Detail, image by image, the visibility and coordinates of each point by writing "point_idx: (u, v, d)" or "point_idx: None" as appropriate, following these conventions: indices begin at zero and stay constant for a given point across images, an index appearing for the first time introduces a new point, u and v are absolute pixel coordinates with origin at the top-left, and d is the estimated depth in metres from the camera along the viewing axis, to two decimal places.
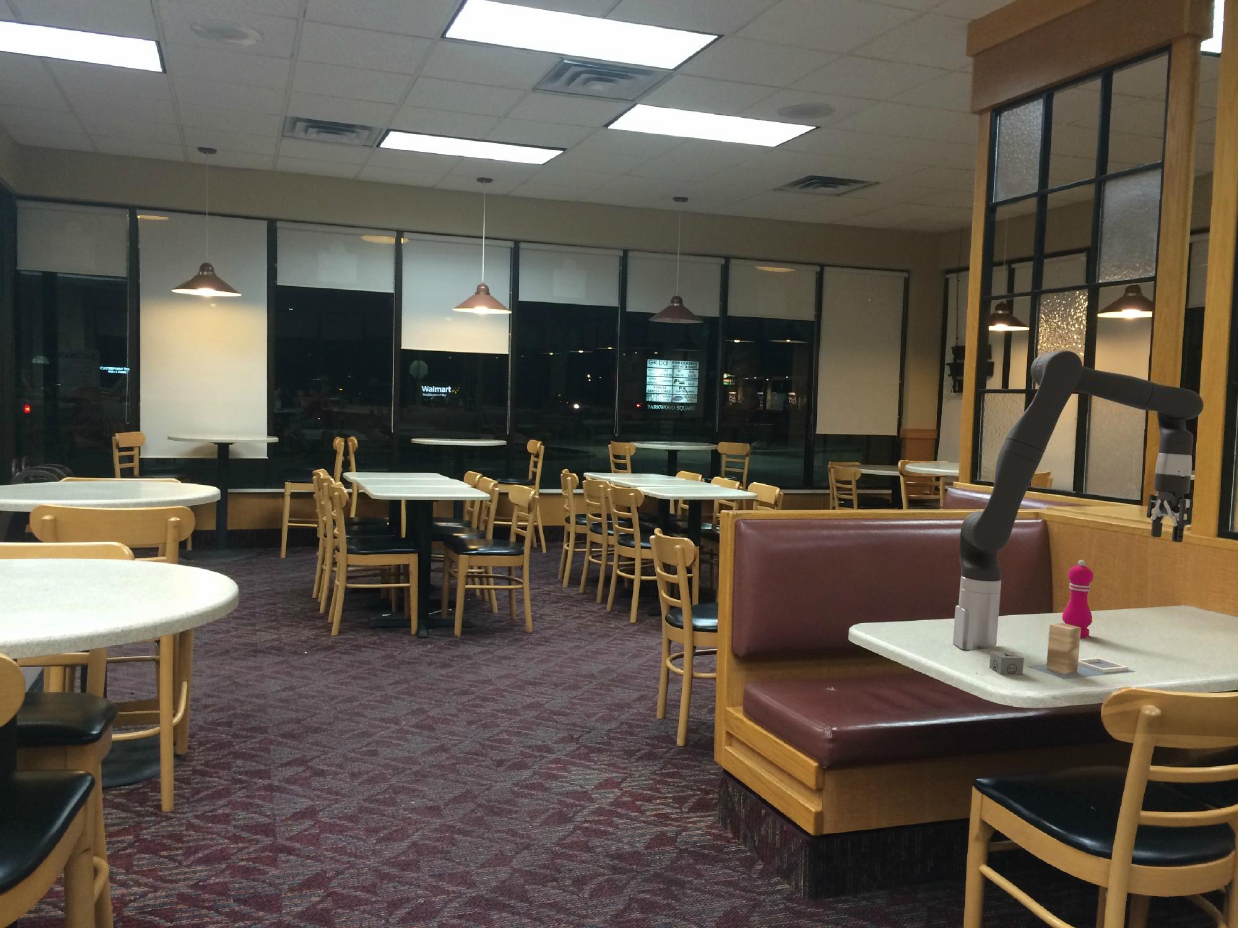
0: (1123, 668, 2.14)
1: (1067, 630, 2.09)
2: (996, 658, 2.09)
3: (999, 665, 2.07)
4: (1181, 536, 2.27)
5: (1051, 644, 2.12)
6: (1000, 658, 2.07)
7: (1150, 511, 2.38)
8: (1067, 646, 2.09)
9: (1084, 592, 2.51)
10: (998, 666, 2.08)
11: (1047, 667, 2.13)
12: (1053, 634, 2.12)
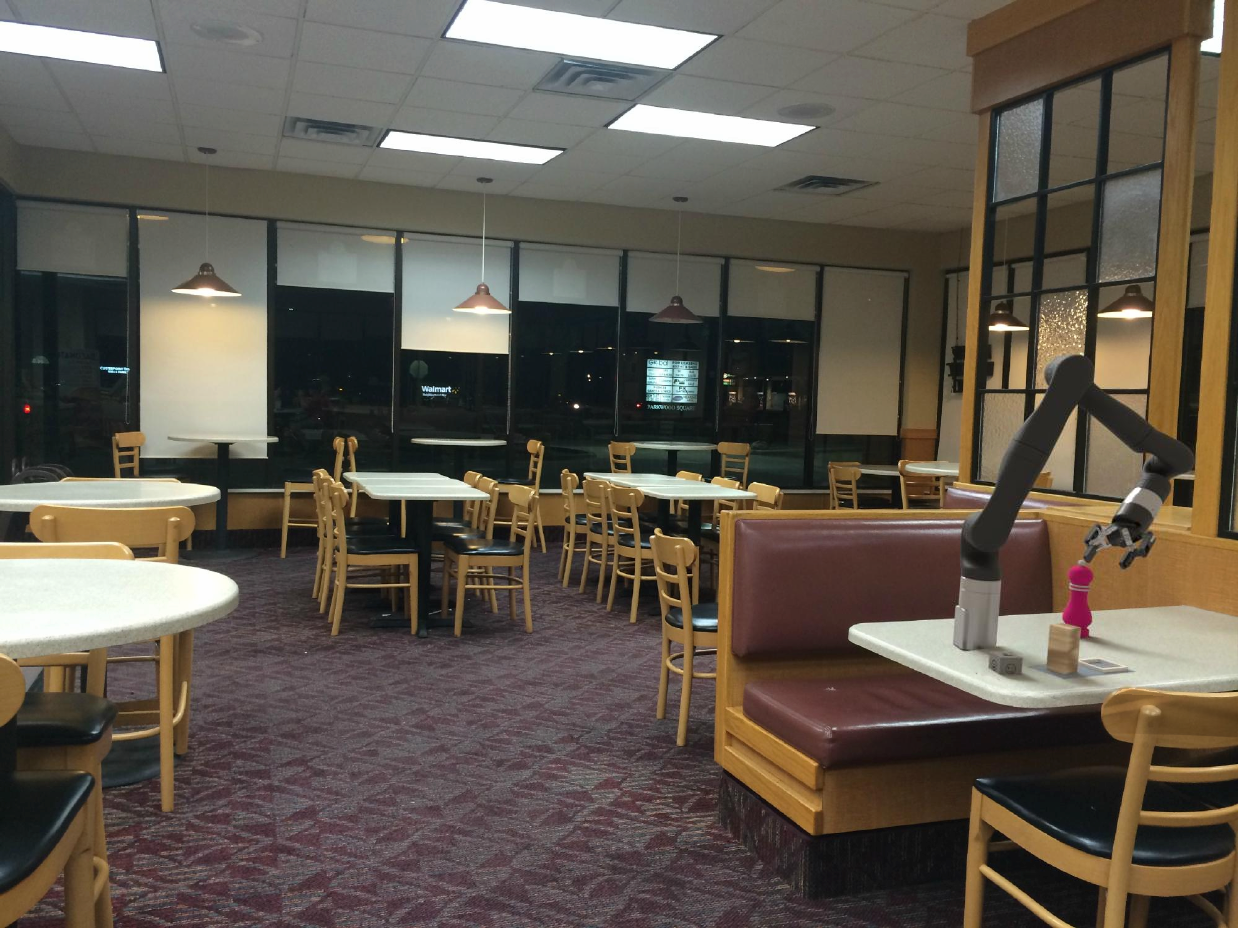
0: (1123, 668, 2.14)
1: (1067, 630, 2.09)
2: (995, 658, 2.09)
3: (998, 665, 2.07)
4: (1129, 564, 2.13)
5: (1051, 644, 2.12)
6: (999, 658, 2.07)
7: (1091, 536, 2.23)
8: (1067, 646, 2.09)
9: (1084, 592, 2.51)
10: (997, 666, 2.08)
11: (1047, 667, 2.13)
12: (1053, 634, 2.12)
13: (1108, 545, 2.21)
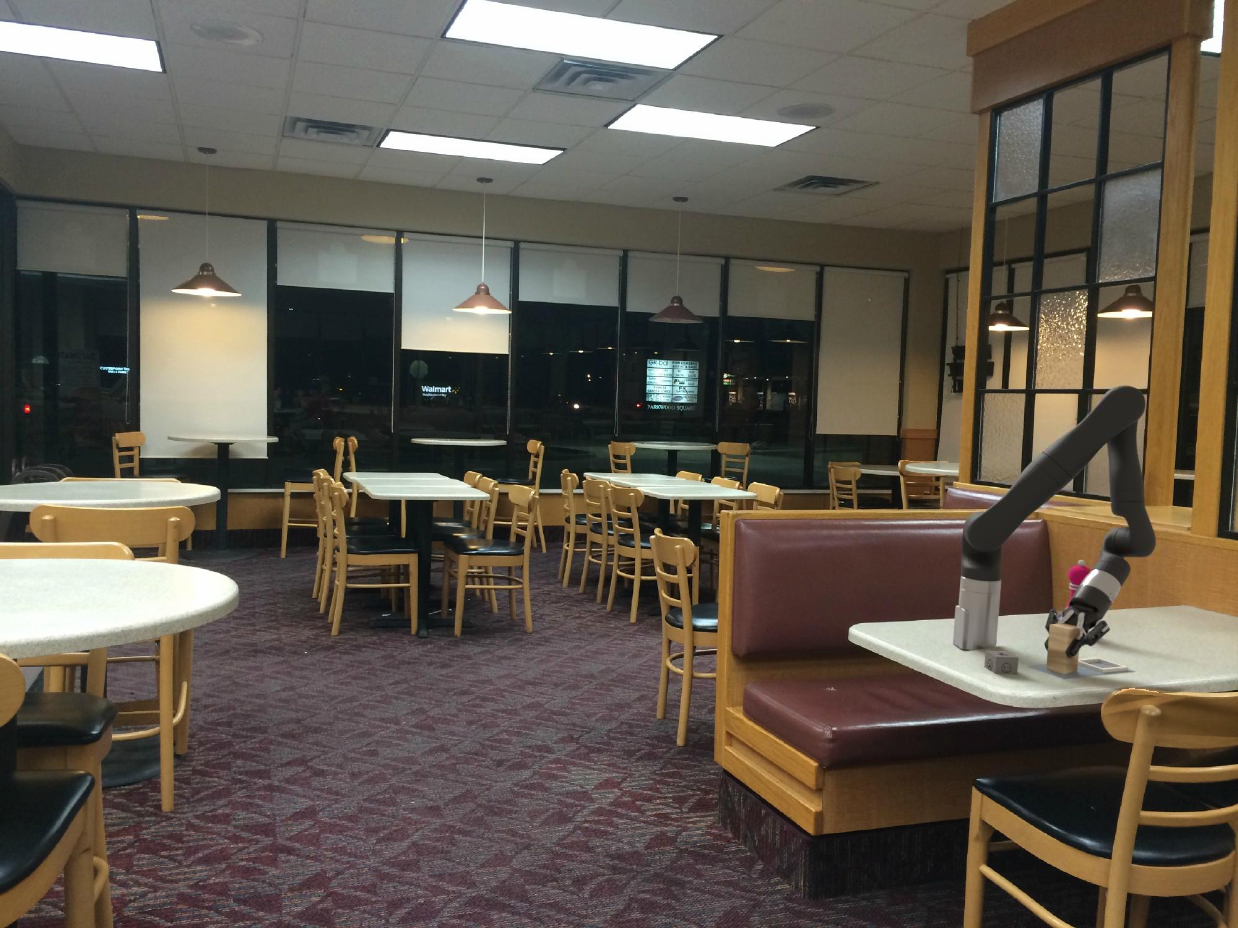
0: (1123, 668, 2.14)
1: (1067, 630, 2.09)
2: (991, 658, 2.09)
3: (994, 664, 2.08)
4: (1076, 652, 2.09)
5: (1051, 644, 2.12)
6: (995, 657, 2.07)
7: (1051, 623, 2.16)
8: (1067, 646, 2.09)
9: None
10: (993, 665, 2.08)
11: (1047, 667, 2.13)
12: (1053, 634, 2.12)
13: None
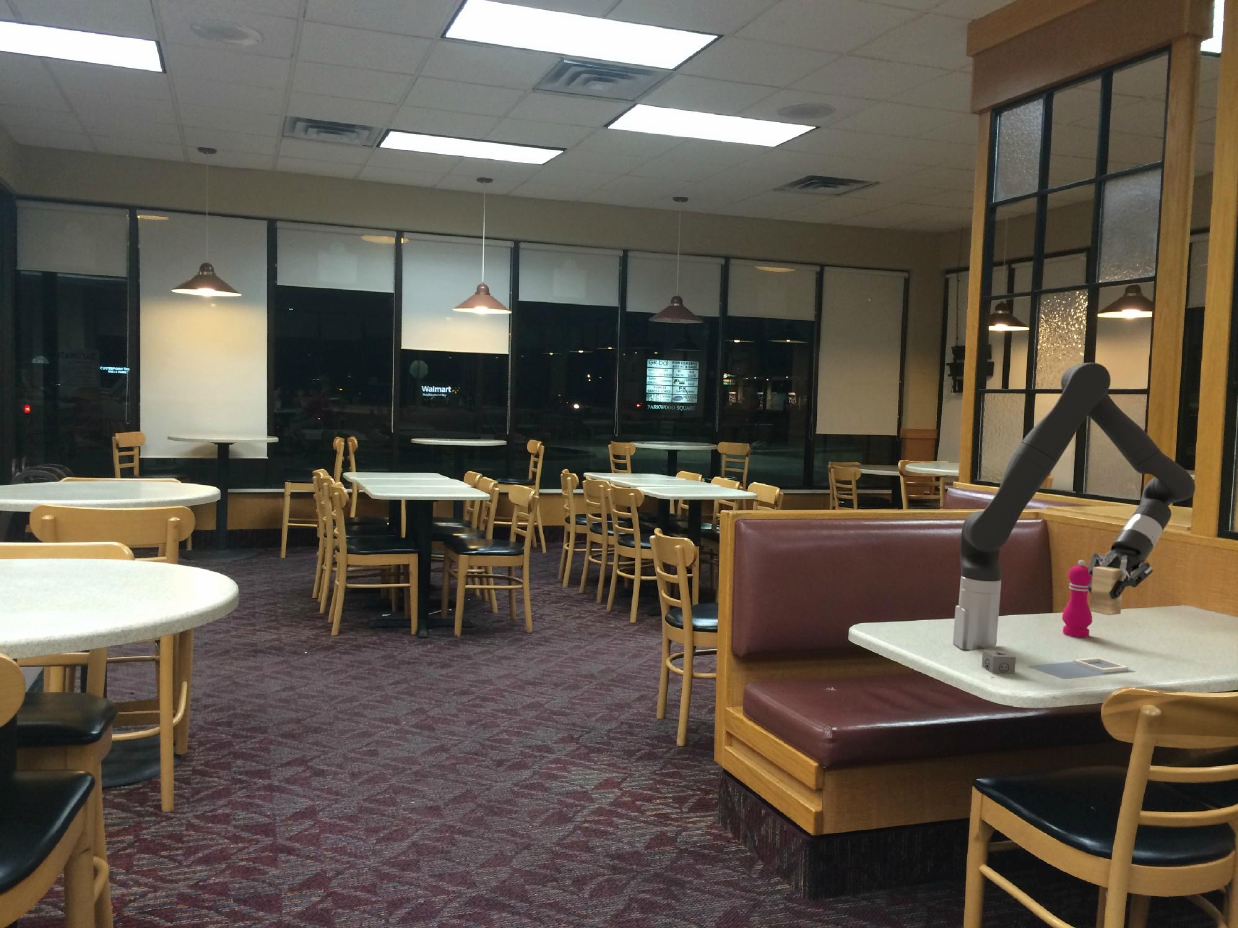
0: (1123, 668, 2.14)
1: (1111, 572, 2.13)
2: (988, 657, 2.09)
3: (991, 664, 2.08)
4: (1119, 593, 2.12)
5: (1094, 586, 2.16)
6: (992, 657, 2.08)
7: None
8: (1111, 587, 2.13)
9: (1084, 592, 2.51)
10: (990, 665, 2.08)
11: (1090, 609, 2.17)
12: (1096, 576, 2.15)
13: None
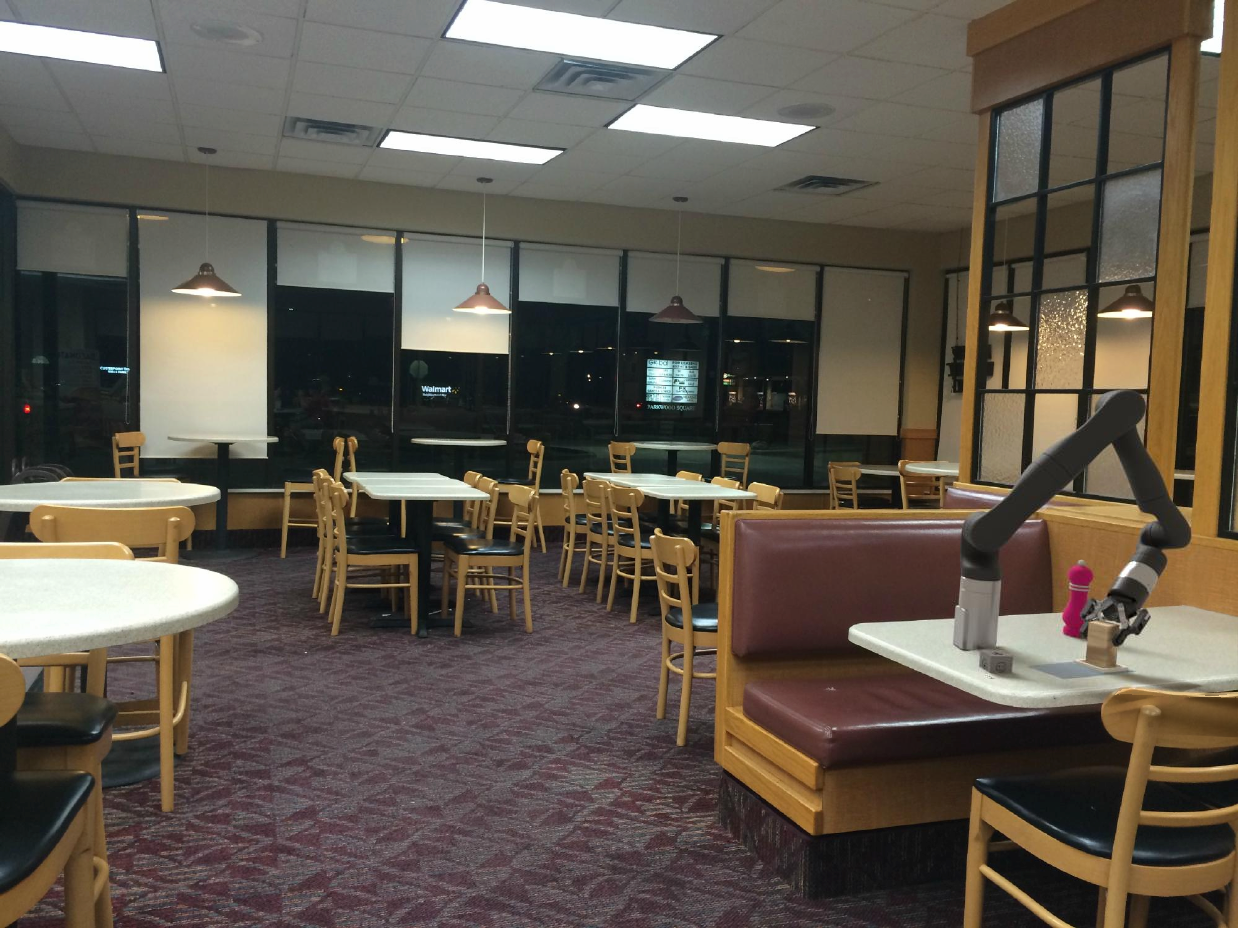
0: (1123, 668, 2.14)
1: (1106, 627, 2.13)
2: (985, 657, 2.10)
3: (988, 663, 2.08)
4: (1122, 641, 2.12)
5: (1090, 641, 2.17)
6: (989, 656, 2.08)
7: (1087, 611, 2.22)
8: (1106, 643, 2.14)
9: (1084, 592, 2.51)
10: (987, 664, 2.09)
11: None
12: (1092, 631, 2.16)
13: (1104, 620, 2.20)
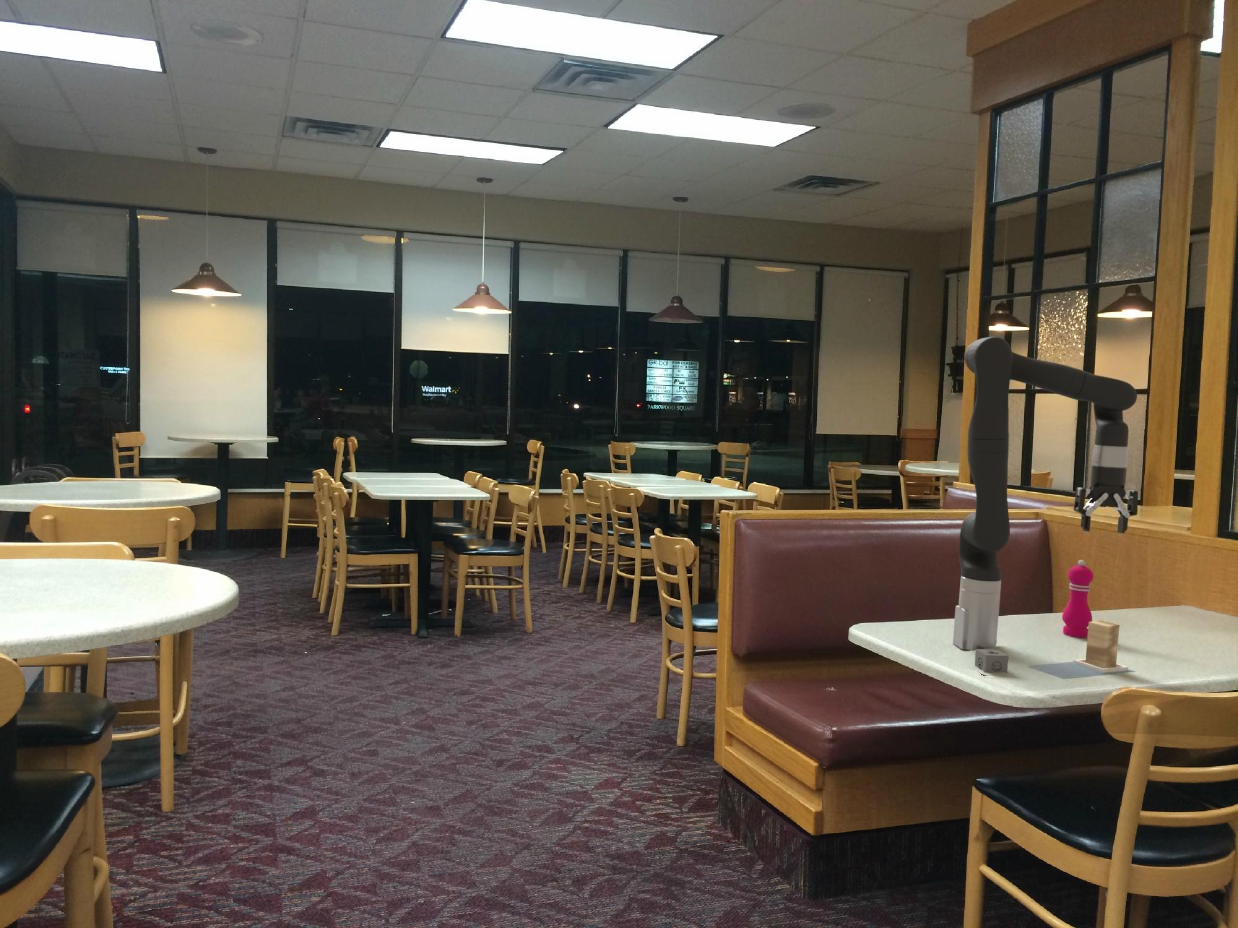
0: (1123, 668, 2.14)
1: (1106, 627, 2.13)
2: (981, 656, 2.10)
3: (984, 663, 2.09)
4: None
5: (1090, 641, 2.17)
6: (985, 656, 2.08)
7: (1083, 505, 2.29)
8: (1106, 643, 2.14)
9: (1084, 592, 2.51)
10: (983, 664, 2.09)
11: None
12: (1092, 631, 2.16)
13: None
